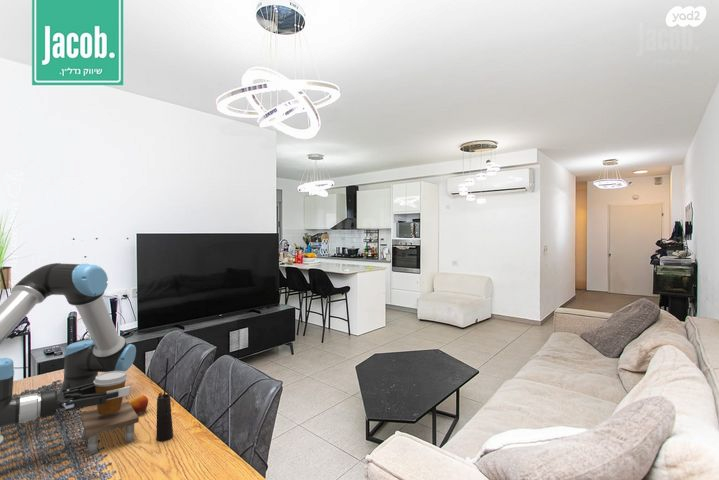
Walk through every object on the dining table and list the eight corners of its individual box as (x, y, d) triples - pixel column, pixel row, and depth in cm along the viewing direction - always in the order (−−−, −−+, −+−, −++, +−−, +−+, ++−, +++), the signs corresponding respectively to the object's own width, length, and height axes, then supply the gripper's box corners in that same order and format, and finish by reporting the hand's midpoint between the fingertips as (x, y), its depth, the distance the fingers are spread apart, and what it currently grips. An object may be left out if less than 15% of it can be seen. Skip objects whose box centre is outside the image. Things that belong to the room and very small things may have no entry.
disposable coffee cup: (132, 407, 122) (134, 372, 122) (105, 419, 113) (106, 382, 113) (113, 402, 125) (114, 368, 125) (84, 414, 116) (86, 377, 116)
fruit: (140, 416, 131) (132, 397, 132) (125, 425, 133) (116, 405, 134) (157, 407, 139) (148, 388, 140) (142, 415, 141) (134, 396, 142)
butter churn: (145, 434, 122) (148, 354, 122) (175, 427, 128) (178, 350, 128) (148, 447, 115) (151, 362, 115) (180, 438, 120) (183, 357, 121)
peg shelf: (79, 436, 120) (80, 413, 120) (127, 422, 129) (128, 401, 130) (85, 457, 108) (86, 432, 108) (137, 441, 118) (138, 417, 118)
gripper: (37, 405, 114) (120, 387, 130) (39, 431, 99) (133, 407, 115) (38, 382, 114) (121, 367, 130) (41, 405, 99) (134, 384, 115)
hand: (126, 386), depth 122 cm, fingers closed on disposable coffee cup, 8 cm apart
